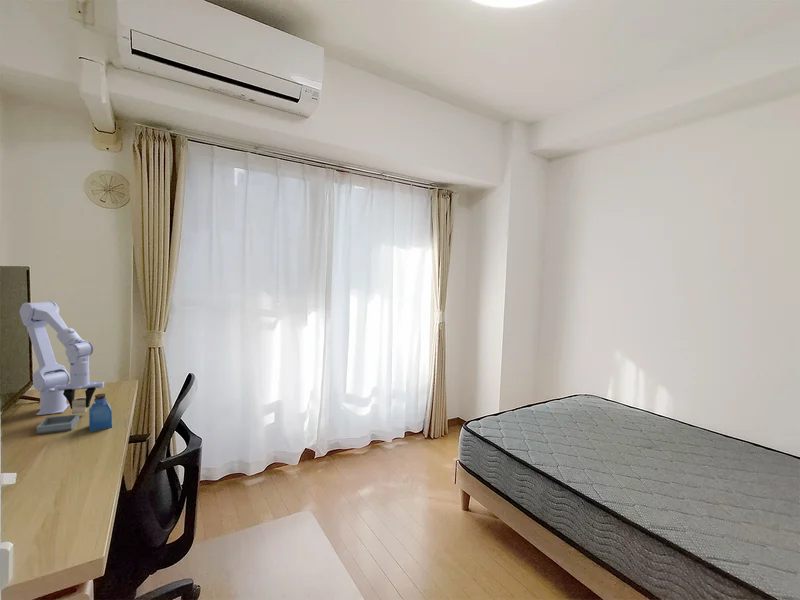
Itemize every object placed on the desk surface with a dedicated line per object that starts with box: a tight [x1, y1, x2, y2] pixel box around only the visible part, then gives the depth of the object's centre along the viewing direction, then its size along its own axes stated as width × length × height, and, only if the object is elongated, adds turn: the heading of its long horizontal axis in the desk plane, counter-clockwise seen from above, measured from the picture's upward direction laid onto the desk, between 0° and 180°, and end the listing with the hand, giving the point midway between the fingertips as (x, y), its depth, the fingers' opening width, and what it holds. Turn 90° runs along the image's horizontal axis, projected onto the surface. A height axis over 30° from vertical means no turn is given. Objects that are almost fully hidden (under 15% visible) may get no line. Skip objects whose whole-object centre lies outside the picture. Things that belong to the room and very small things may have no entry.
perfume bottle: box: [88, 393, 113, 432], centre depth 139 cm, size 6×6×12 cm
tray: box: [36, 413, 80, 435], centre depth 137 cm, size 9×9×2 cm
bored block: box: [71, 396, 89, 415], centre depth 147 cm, size 4×4×5 cm
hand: (80, 407), depth 147 cm, fingers closed on bored block, 4 cm apart
